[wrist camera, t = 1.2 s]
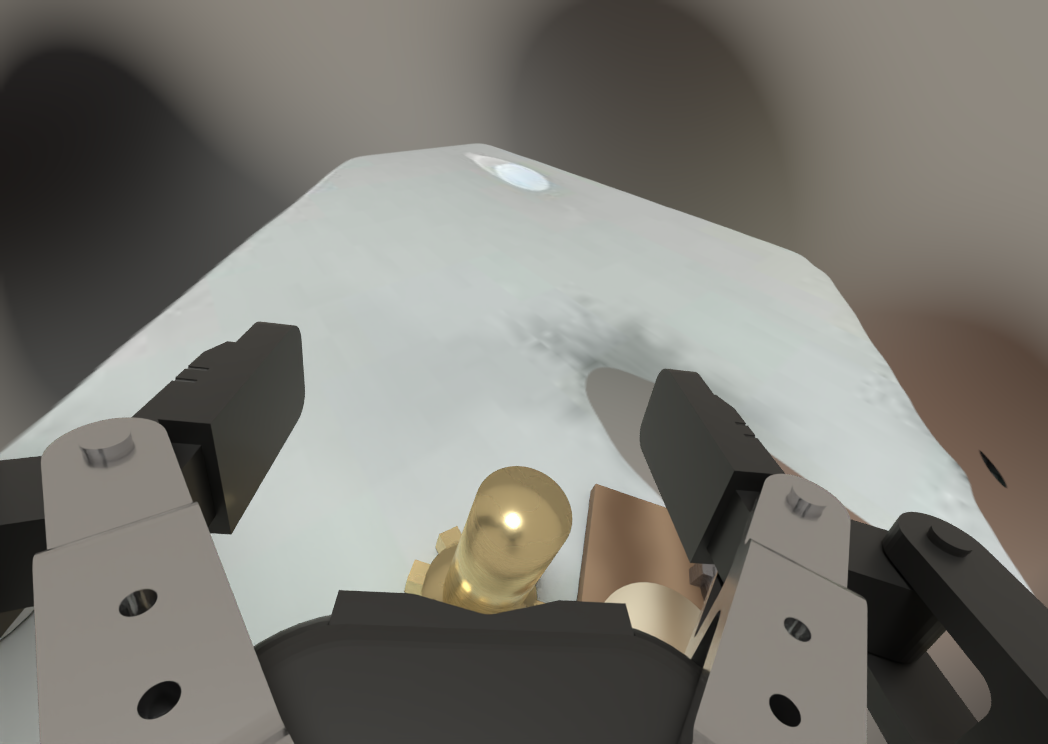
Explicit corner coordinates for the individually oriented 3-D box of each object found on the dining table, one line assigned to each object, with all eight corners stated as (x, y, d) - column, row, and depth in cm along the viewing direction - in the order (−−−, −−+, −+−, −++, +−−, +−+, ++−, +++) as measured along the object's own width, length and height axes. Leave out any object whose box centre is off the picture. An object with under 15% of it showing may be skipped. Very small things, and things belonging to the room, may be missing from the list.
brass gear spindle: (377, 658, 29) (394, 569, 21) (432, 520, 36) (462, 409, 28) (527, 707, 30) (607, 640, 21) (553, 560, 37) (620, 464, 28)
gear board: (553, 785, 27) (560, 782, 26) (590, 491, 42) (596, 482, 41) (850, 882, 28) (867, 882, 27) (784, 557, 42) (794, 550, 42)
